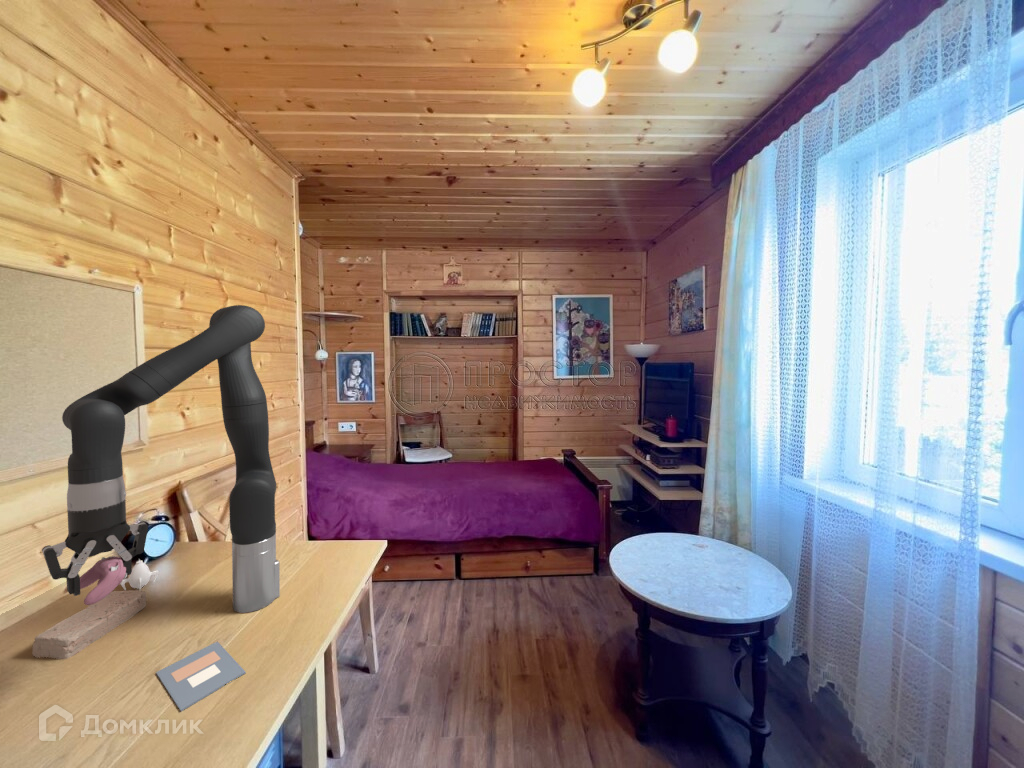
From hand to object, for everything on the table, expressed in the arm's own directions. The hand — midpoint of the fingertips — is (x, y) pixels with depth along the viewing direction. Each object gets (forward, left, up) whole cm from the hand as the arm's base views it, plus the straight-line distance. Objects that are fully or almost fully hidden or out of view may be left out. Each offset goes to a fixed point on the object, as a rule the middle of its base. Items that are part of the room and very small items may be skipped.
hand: (100, 585), depth 73 cm
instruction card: (-11, +16, -17) cm, 26 cm away
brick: (-1, -17, -18) cm, 25 cm away
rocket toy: (-12, -31, -18) cm, 37 cm away
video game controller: (0, 0, -1) cm, 1 cm away
